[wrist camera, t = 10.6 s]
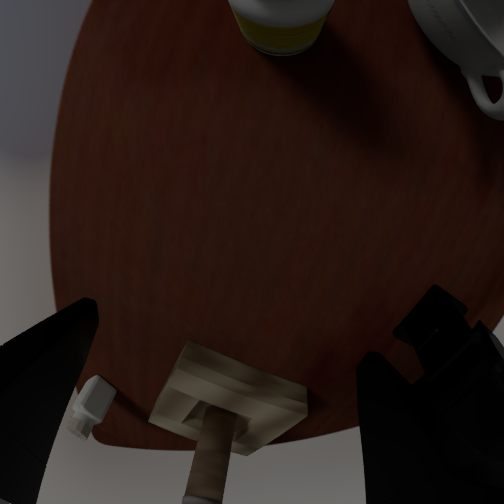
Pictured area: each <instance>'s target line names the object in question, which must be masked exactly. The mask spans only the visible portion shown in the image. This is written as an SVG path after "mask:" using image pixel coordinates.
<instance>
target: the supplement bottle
mask: <svg viewBox="0 0 504 504" xmlns="http://www.w3.org/2000/svg"><path fill="white" fill-rule="evenodd" d="M228 1H229V3H230V6H231V8H232V10H233V12H234V15H235V17H236V19H237V22H238V24H239V26H240V29H241V31H242V33H243V35H244V37H245V39H246V40H247V41H248V42H249V43H250V44H251V45H252V46H253V47H254V48H256V49H258V50H259V51H261V52H264V53H266V54H270V55H275V56H289V55H294V54H297V53H300V52H302V51H304V50H306V49H308V48H309V47H310V46H311V45H312V44H313V43H314V42H315V41H316V39H317V38H318V36H319V34H320V32H321V30H322V28H323V26H324V23H325V21H326V19H327V17H328V15H329V13H330V11H331V9H332V7H333V5H334V2H335V0H228Z"/></svg>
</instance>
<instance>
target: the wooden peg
mask: <svg viewBox="0 0 504 504" xmlns="http://www.w3.org/2000/svg"><path fill="white" fill-rule="evenodd" d="M236 417H237V414H236V413H235V412H232V411H229V410H226V409H223V408H221V407H218V406H215V405H210V406H208V407H207V408H206V410H205V414H204V418H203V422H202V426H201V430H200V434H199V438H198V442H197V446H196V450H195V454H194V459H193V462H192V467H191V471H190V475H189V479H188V483H187V487H186V491H185V495H184V496H183V499H182V503H183V504H222V500H223V494H224V488H225V482H226V476H227V471H228V465H229V459H230V453H231V447H232V441H233V435H234V429H235V423H236Z"/></svg>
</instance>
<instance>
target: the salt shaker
mask: <svg viewBox="0 0 504 504" xmlns="http://www.w3.org/2000/svg"><path fill="white" fill-rule="evenodd" d="M115 394H116V389H115V388H114V387H112V386H111V385H110V384H109V383H107V382H106V381H105V380H104V379H103V378H101V377H100V376H98V375H96V376H94V377H92V378H91V379H89V380H87V382H86V383H85V385H84V387H83V388H82V390H81V392H80V394H79V395H78V397H77V399H76V401H75V402H74V404H73V406H72V408H73V410H74V411H75V413H74V415H73V416H72V417H71V419H70V421H69V423H68V425H67V429H68V430H69V431H70V432H71V433H72V434H74V435H75V436H77V437H79V438H80V439H83V440H87V438H88V436H89V434H90V432H91V431H92V427H93V425H94V424H99V423H101V422H102V421H103V419H104V416H105V414H106V412H107V410H108V408H109V406H110V404H111V402H112V400H113V398H114V396H115Z"/></svg>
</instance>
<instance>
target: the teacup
mask: <svg viewBox="0 0 504 504" xmlns="http://www.w3.org/2000/svg"><path fill="white" fill-rule="evenodd" d="M408 3H409V6H410V9H411V11H412V13H413V15H414V17H415V19H416V21H417V23H418V24H419V26H420V28H421V29H422V30H423V32H424V33H425V35H426V36H427V37H428V38H429V40H430V41H431V42H432V43H433V44H434V45H435V46H436V47H437V48H438V49H439V50H440V51H441V52H442V53H443V54H444V55H445V56H446V57H447V58H449V59H450V60H451V61H453V62H454V63H456V64H457V65H459V66H460V69H461V73H462V75H463V76H464V77H465V78H466V79H467V82H468V85H469V88H470V90H471V93H472V95H473V98H474V100H475V102H476V103H477V105H478V107H479V108H480V109H481V110H482V111H483V112H484V113H485V114H486V115H488V116H489V117H491V118H494V119H497V120H501V121H502V120H504V0H408ZM482 75H485V76H497V77H500V78H501V80H502V83H503V92H502V96H501V98H500V100H499V101H498V102H497V103H495V104H492V102H491V101H490V99H489V98H488V95H487V93H486V91H485V88H484V85H483V81H482V77H481V76H482Z"/></svg>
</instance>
